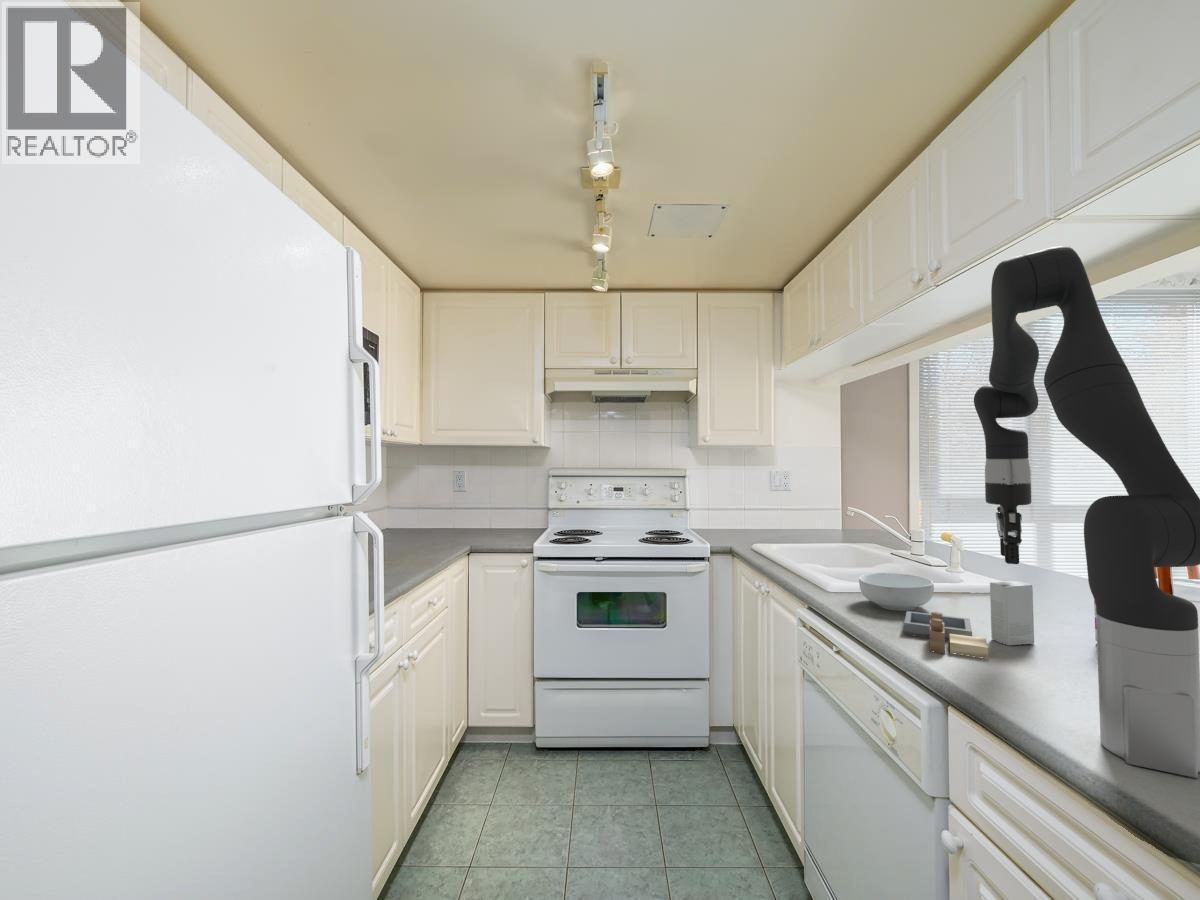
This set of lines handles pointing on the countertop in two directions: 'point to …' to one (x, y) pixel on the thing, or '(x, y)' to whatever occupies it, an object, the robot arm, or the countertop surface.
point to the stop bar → (937, 633)
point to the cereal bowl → (896, 590)
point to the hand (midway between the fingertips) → (1009, 559)
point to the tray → (921, 625)
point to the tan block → (968, 645)
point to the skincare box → (1012, 612)
